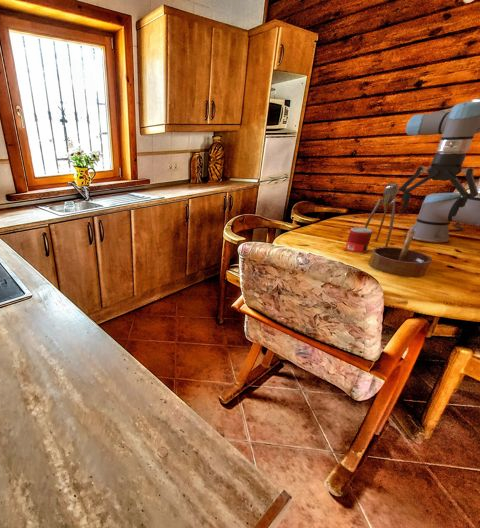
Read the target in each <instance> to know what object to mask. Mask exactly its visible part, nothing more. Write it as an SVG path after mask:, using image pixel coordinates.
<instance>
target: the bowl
mask: <svg viewBox="0 0 480 528" xmlns="http://www.w3.org/2000/svg"><path fill="white" fill-rule="evenodd" d="M402 248H403V247H396V246H387V247H385V246H380V247H379V246H377V247H374V248H373V249H372V250H371V254H370V257H369V259H368V266H370V267H372V268H373V269H375V270H377V271H380V272H382V273H387V274H389V275H394V276H400V277H408V278H409V277H410V278H417V277H418V278H420V277H424V276H426V275H427V273H428V271H429V269H430V267H431V264H432V263H433V259H432V257H431V256H430V255H427V254H425V253H424V252H419V251H416V250H414V249H408V252H407V254H406V257H405V260H404V261H398V259H399V256H400V253H401V251H402Z"/></svg>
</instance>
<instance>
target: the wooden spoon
mask: <svg viewBox="0 0 480 528" xmlns="http://www.w3.org/2000/svg"><path fill="white" fill-rule="evenodd" d="M408 231H409V230H408ZM408 231H407V232H408ZM414 233H415V232H414V231H409V232H408V235H407V237H406V236H405V240H404V243H403V245H402V247H401V248H402V251H401V253H400V256H399V259H398V261H404V260H405V257H406V254H407V252H408V250H410V246H411V244H412V241H413V236H414Z"/></svg>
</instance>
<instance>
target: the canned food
mask: <svg viewBox="0 0 480 528" xmlns="http://www.w3.org/2000/svg"><path fill="white" fill-rule="evenodd" d="M372 234H373V230H372V229H371V228H368V227H367V228H364V227H362V226H361V227H360V226H354V227H351V228H350V231H349V234H348V238H347V241H346V245H345V251H348V252H351V253H358V254H363V253H366V252H367V250H368V247H369V244H370V241H371V239H372Z"/></svg>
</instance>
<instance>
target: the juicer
mask: <svg viewBox="0 0 480 528" xmlns="http://www.w3.org/2000/svg"><path fill="white" fill-rule="evenodd" d="M399 188H400V187H399V185H398V183H396V182H391V183H388V184H387V185H386V186H385V187H384V189H383V194H382V198H379V199H378V201H377V202H376V204H375V207H374V208H373V210H372V211H371V213H370V214H369V217H368V219H367V220H366V223H365V225H364V227H363V228H368V226H369V224H370V222H371V220H372V218H373V216H374V214H375V213H376V211H377V209H378V208H379V206H380V205H381V204H382V205H383V211H384V212H383V215H382V218H381V221H380V225H379V227H378V231H377V235H376V238H375V241H376V242H378V240H379V237H380V234H381V231H382V229H383V225H384V222H385V218H386V215H387V211H388V207H389V206H390V205H391V214H390V223H389V228H388V234H387V237H386V242H385V246H384V247H389V242H390V239H391V235H392V230H393V226H394V221H395V213H396V199H395V197H396V196H397V194H398V192H399Z"/></svg>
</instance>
